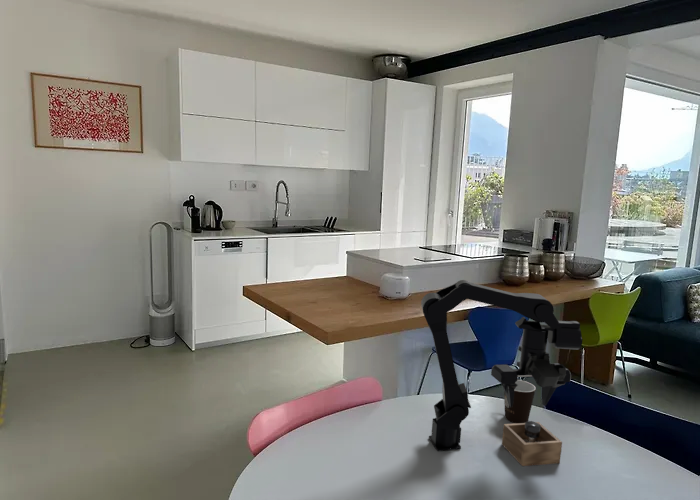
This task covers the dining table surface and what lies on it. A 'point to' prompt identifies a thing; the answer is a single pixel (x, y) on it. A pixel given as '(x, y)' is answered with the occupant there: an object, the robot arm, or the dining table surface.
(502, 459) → the dining table surface
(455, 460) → the dining table surface
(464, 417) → the robot arm
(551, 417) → the dining table surface
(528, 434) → the plunger
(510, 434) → the wooden square tray
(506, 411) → the coffee mug
